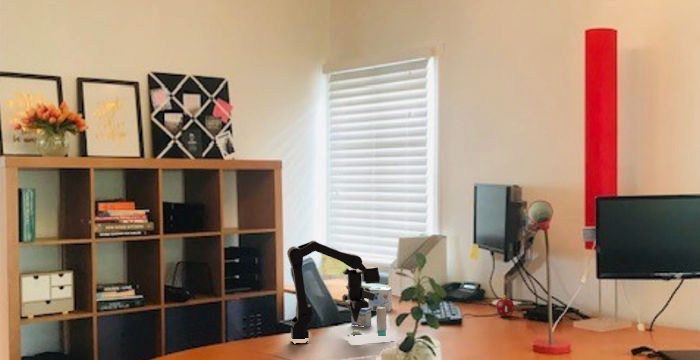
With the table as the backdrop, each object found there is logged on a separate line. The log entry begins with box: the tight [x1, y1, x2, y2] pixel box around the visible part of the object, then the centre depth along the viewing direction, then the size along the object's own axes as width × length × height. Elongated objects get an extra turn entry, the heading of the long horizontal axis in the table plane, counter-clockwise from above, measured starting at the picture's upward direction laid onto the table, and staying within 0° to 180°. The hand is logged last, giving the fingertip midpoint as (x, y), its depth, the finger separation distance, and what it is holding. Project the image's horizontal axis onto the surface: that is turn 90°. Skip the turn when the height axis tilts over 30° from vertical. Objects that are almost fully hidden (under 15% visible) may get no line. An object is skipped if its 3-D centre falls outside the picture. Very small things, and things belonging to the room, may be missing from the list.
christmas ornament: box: [495, 294, 516, 318], centre depth 359 cm, size 9×9×10 cm
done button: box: [352, 329, 360, 335], centre depth 326 cm, size 3×3×2 cm
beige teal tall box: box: [375, 307, 387, 336], centre depth 325 cm, size 4×4×12 cm
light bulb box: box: [367, 286, 393, 312], centre depth 381 cm, size 11×7×11 cm, turn 73°
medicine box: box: [350, 308, 372, 328], centre depth 346 cm, size 8×4×9 cm, turn 62°
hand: (355, 321), depth 326 cm, fingers closed
